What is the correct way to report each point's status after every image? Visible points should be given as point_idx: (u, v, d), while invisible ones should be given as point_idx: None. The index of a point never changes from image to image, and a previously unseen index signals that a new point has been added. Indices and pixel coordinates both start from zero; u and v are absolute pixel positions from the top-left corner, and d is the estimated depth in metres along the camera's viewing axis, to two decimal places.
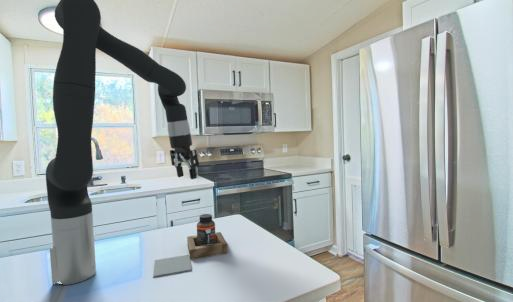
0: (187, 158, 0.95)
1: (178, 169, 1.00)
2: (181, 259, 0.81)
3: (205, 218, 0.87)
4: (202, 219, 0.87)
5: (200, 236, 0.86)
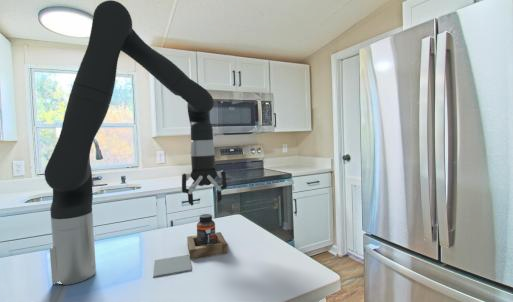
0: None
1: (192, 196, 0.86)
2: (181, 259, 0.81)
3: (205, 218, 0.87)
4: (202, 219, 0.87)
5: (200, 236, 0.86)
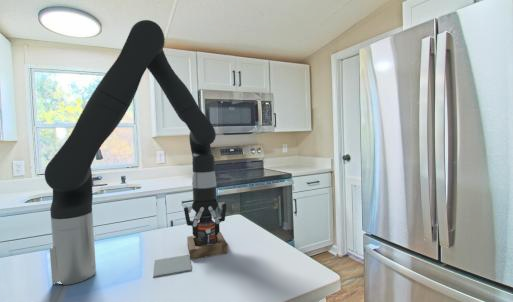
0: None
1: None
2: (181, 259, 0.81)
3: (205, 218, 0.87)
4: (202, 219, 0.87)
5: (200, 236, 0.86)
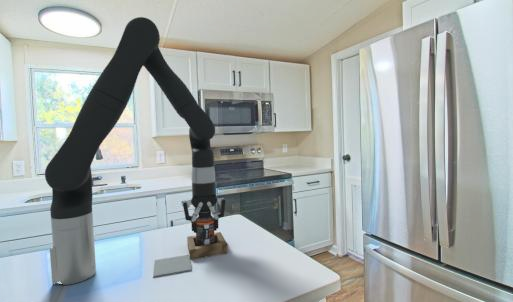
0: None
1: (195, 223, 0.88)
2: (181, 259, 0.81)
3: (204, 213, 0.87)
4: (201, 214, 0.87)
5: (199, 231, 0.87)
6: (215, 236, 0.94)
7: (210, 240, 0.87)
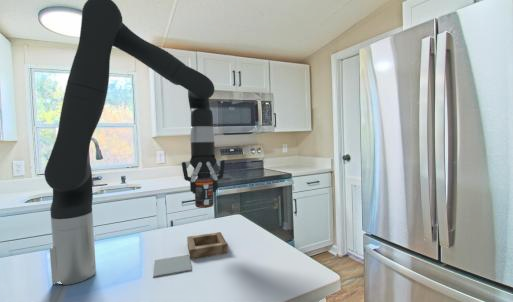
0: None
1: (194, 184, 0.86)
2: (181, 259, 0.81)
3: (203, 173, 0.86)
4: (200, 174, 0.86)
5: (198, 192, 0.85)
6: (215, 236, 0.94)
7: (209, 201, 0.86)
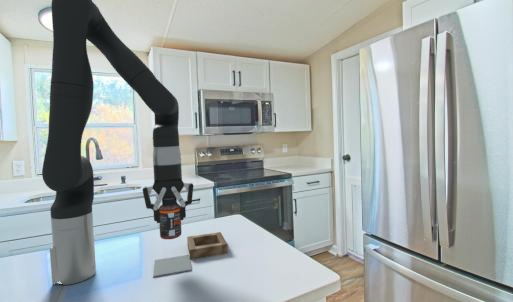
0: None
1: (158, 212, 0.76)
2: (181, 259, 0.81)
3: (168, 200, 0.75)
4: (165, 201, 0.75)
5: (162, 221, 0.75)
6: (215, 236, 0.94)
7: (175, 231, 0.75)
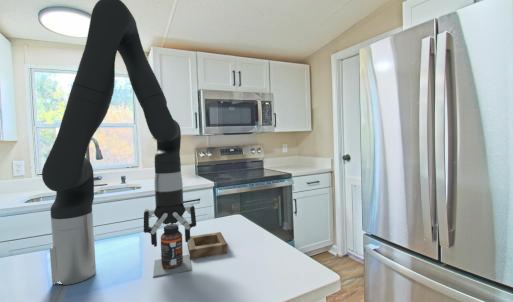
0: None
1: (156, 235, 0.76)
2: None
3: (170, 229, 0.76)
4: (167, 230, 0.76)
5: (164, 250, 0.75)
6: (215, 236, 0.94)
7: (177, 260, 0.76)
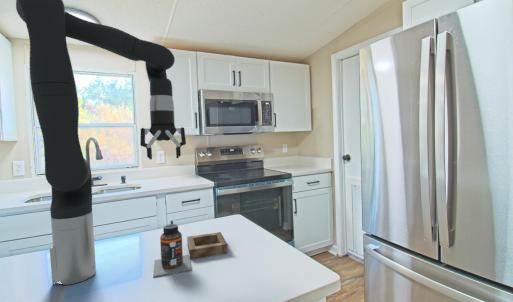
0: None
1: (151, 150, 0.89)
2: None
3: (169, 229, 0.76)
4: (166, 230, 0.76)
5: (164, 250, 0.75)
6: (215, 236, 0.94)
7: (177, 260, 0.76)
